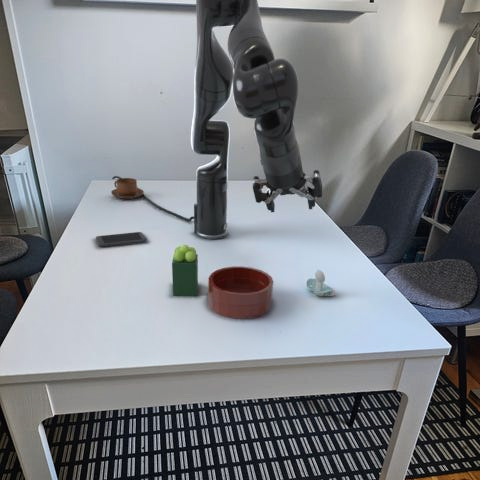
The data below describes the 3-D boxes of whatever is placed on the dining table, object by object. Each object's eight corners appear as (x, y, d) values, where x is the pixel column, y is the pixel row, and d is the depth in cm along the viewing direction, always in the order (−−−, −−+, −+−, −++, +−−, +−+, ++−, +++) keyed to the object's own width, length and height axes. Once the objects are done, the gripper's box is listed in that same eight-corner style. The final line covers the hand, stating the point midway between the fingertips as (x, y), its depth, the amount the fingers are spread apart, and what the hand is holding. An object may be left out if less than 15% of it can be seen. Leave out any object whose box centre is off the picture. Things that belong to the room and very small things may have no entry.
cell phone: (95, 238, 137) (95, 236, 136) (141, 233, 142) (141, 231, 141) (99, 247, 131) (98, 244, 131) (147, 242, 136) (147, 239, 135)
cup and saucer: (106, 199, 171) (104, 183, 168) (119, 191, 181) (117, 175, 178) (137, 202, 170) (136, 185, 166) (148, 193, 180) (147, 178, 177)
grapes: (173, 295, 108) (171, 249, 102) (175, 285, 113) (173, 240, 107) (196, 296, 108) (196, 250, 102) (197, 285, 113) (197, 240, 107)
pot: (196, 306, 104) (195, 283, 101) (229, 283, 115) (230, 261, 112) (252, 325, 98) (253, 301, 95) (281, 299, 109) (283, 276, 106)
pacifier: (321, 284, 117) (302, 288, 114) (325, 261, 114) (306, 265, 111) (340, 296, 112) (321, 301, 109) (344, 273, 108) (325, 277, 106)
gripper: (318, 139, 88) (323, 190, 102) (246, 147, 91) (261, 196, 106) (318, 171, 85) (323, 219, 100) (243, 178, 88) (259, 224, 103)
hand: (291, 207), depth 103 cm, fingers open, 8 cm apart
